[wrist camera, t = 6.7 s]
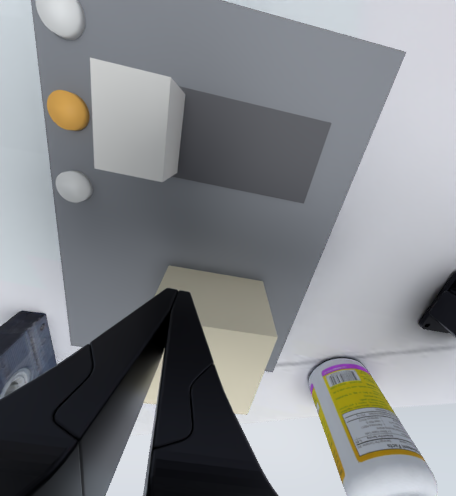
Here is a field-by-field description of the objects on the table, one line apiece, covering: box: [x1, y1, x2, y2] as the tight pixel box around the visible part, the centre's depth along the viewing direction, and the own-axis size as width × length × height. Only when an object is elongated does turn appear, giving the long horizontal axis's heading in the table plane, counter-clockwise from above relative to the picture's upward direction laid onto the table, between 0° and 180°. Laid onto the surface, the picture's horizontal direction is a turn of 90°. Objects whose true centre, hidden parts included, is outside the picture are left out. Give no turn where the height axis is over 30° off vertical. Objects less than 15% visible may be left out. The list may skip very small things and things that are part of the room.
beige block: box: [143, 265, 278, 415], centre depth 16 cm, size 7×7×5 cm
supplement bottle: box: [309, 358, 438, 496], centre depth 20 cm, size 7×7×13 cm
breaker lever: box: [90, 58, 185, 182], centre depth 11 cm, size 3×4×4 cm
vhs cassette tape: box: [0, 311, 57, 399], centre depth 21 cm, size 18×3×10 cm, turn 169°
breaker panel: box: [31, 0, 406, 372], centre depth 17 cm, size 18×24×4 cm
